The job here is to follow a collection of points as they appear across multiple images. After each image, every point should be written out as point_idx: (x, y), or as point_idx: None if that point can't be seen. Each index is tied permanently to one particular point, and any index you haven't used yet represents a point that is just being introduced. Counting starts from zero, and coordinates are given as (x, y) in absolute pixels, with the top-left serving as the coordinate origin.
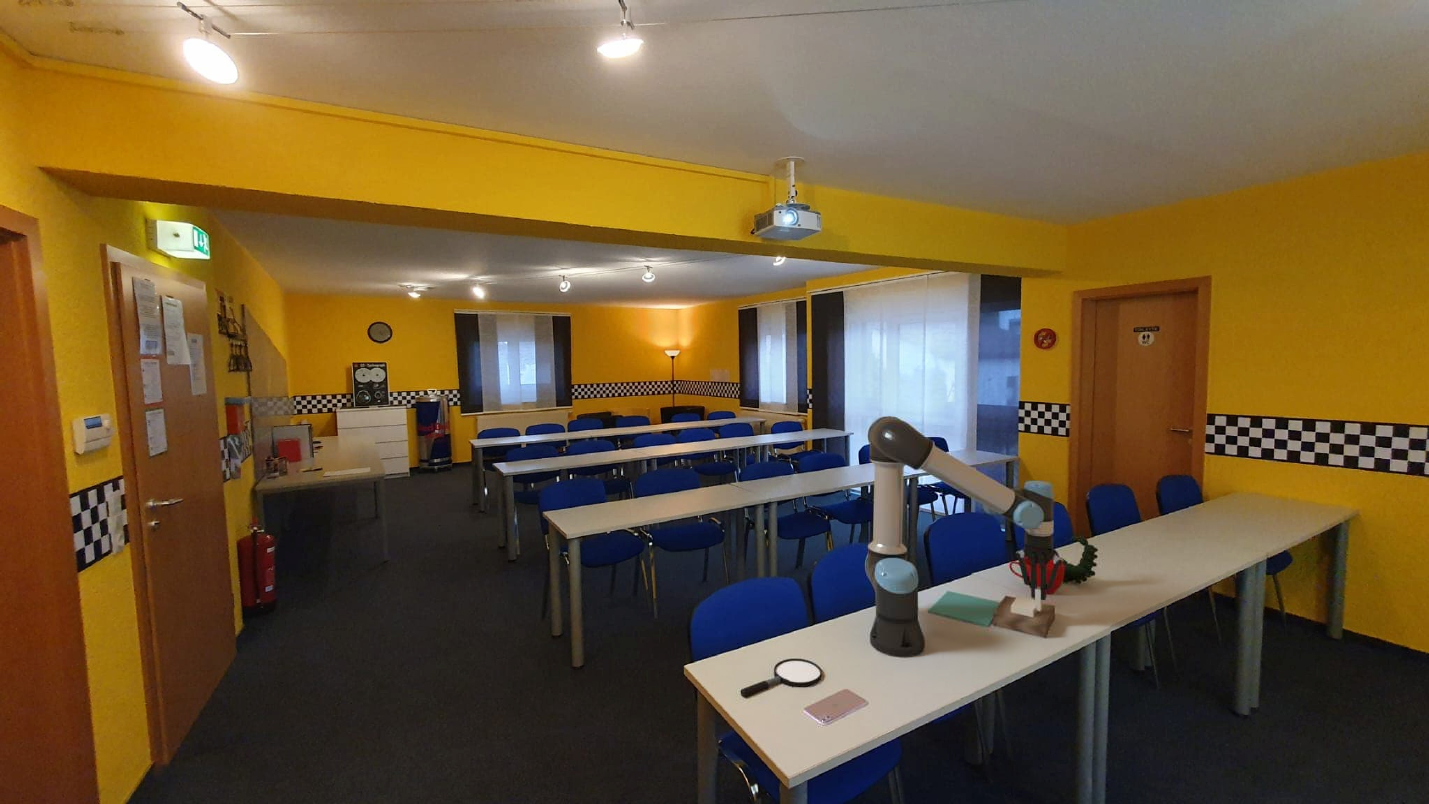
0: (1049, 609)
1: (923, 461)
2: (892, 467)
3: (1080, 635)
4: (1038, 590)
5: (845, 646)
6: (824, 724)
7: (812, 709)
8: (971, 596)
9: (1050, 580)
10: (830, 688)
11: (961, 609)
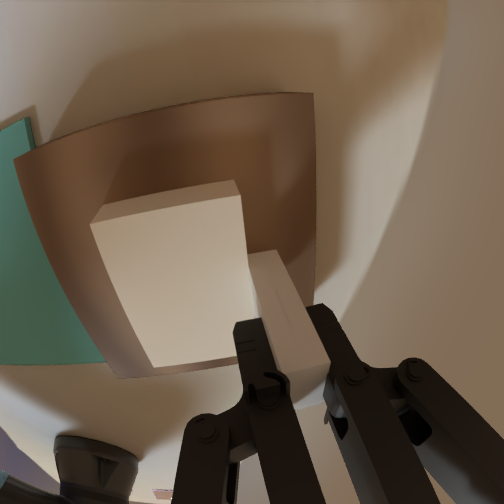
0: (298, 177)
1: None
2: None
3: (390, 208)
4: (306, 403)
5: None
6: None
7: (161, 498)
8: None
9: (422, 452)
10: (142, 490)
11: (1, 311)
